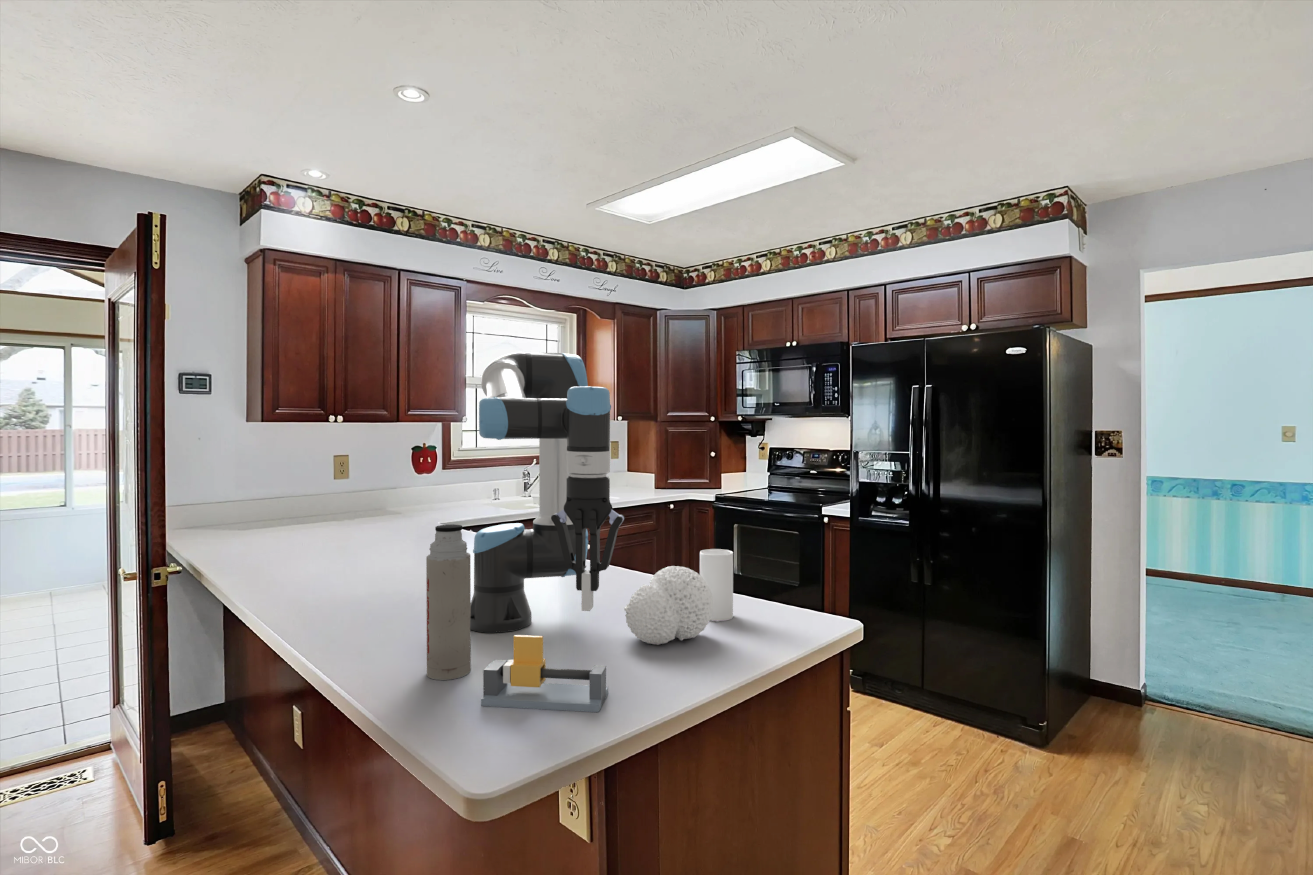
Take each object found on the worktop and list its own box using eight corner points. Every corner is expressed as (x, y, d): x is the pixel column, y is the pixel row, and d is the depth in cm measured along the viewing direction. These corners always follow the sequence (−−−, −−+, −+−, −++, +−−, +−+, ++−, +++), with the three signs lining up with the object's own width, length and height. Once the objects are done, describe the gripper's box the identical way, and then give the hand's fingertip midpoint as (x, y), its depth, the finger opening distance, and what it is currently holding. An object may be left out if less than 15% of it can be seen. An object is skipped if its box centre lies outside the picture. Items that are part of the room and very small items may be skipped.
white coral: (682, 584, 162) (679, 539, 151) (732, 631, 151) (732, 587, 140) (615, 631, 153) (607, 587, 143) (663, 685, 142) (658, 641, 132)
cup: (731, 621, 160) (731, 555, 160) (697, 619, 162) (697, 554, 162) (734, 612, 168) (734, 549, 168) (701, 611, 170) (702, 548, 170)
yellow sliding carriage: (510, 685, 113) (510, 638, 113) (517, 678, 116) (517, 632, 116) (539, 687, 112) (539, 639, 112) (545, 679, 116) (545, 633, 116)
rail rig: (480, 705, 111) (479, 669, 111) (497, 687, 119) (497, 653, 119) (598, 712, 109) (598, 675, 109) (608, 692, 117) (608, 658, 117)
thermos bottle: (421, 680, 122) (421, 528, 122) (432, 665, 130) (432, 522, 130) (466, 679, 123) (465, 528, 123) (474, 664, 131) (473, 522, 131)
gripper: (545, 476, 114) (545, 613, 115) (621, 478, 112) (620, 616, 113) (557, 472, 121) (557, 600, 122) (628, 473, 119) (627, 604, 120)
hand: (587, 608), depth 117 cm, fingers closed
